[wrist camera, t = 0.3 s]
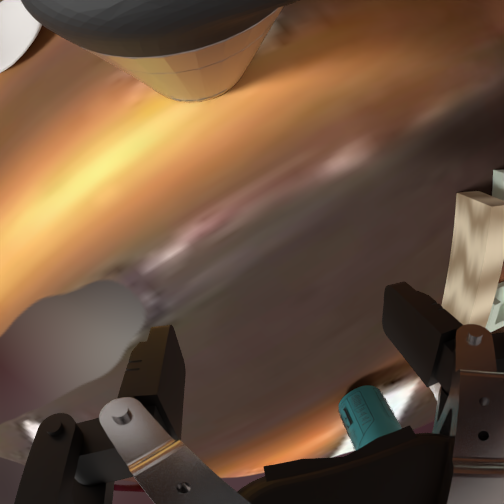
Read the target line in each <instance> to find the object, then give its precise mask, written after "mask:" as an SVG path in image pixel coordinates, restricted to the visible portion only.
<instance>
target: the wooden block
mask: <svg viewBox="0 0 504 504" xmlns="http://www.w3.org/2000/svg"><path fill="white" fill-rule="evenodd" d="M503 260H504V201H503V200H500V199H498V198H495V197H493V196H490V195H488V194H485V193H482V192H480V191H472V192H459V193H457V197H456V211H455V222H454V232H453V241H452V249H451V256H450V263H449V269H448V275H447V281H446V286H445V291H444V296H443V301H442V307H443V309H445V310H447V311H448V312H449V313H450V314H451V315H452V316H454V317H455V318H456V319H457V320H458V321H459V322H460V323H462V324H463V325H466V324H476V325H480V326H483V327H485V328H486V325H487V322H488V318H489V315H490V312H491V308H492V305H493V301H494V298H495V294H496V290H497V286H498V282H499V278H500V274H501V269H502V265H503Z"/></svg>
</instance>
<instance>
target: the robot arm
mask: <svg viewBox="0 0 504 504" xmlns="http://www.w3.org/2000/svg"><path fill="white" fill-rule="evenodd" d="M296 1H299V0H21V2H22V4H23V5H24V7H25V8H26V10H27V11H28V12H29V13H30V14H31V15H32V17H33V18H34V19H35V20H37V21H38V22H39V23H40V24H42V25H43V26H44V27H46V28H47V29H49V30H50V31H52V32H54V33H56V34H57V35H59V36H61V37H63V38H65V39H66V40H68V41H70V42H72V43H74V44H76V45H78V46H80V47H82V48H83V49H85V50H87V51H89V52H91V53H92V54H94V55H96V56H98V57H99V58H101V59H103V60H105V61H107V62H108V63H111V64H112V65H114V66H116V67H117V68H119V69H121V70H122V71H124V72H126V73H127V74H129V75H131V76H132V77H134V78H136V79H137V80H139V81H141V82H142V83H144V84H145V85H147V86H149V87H150V88H152V89H153V90H155V91H157V92H158V93H160V94H162V95H163V96H165V97H167V98H170V99H173V100H176V101H180V102H189V103H190V102H202V101H206V100H210V99H213V98H215V97H217V96H219V95H222V94H224V93H225V92H226V91H228V90H229V89H230V88H232V87H233V86H234V85H235V84H236V83H237V82H238V81H239V79H240V78H241V77H242V75H243V73H244V72H245V70H246V68H247V67H248V65H249V64H250V62H251V60H252V58H253V57H254V55H255V53H256V51H257V50H258V48H259V46H260V45H261V43H262V41H263V40H264V38H265V36H266V35H267V33H268V31H269V30H270V28H271V26H272V25H273V23H274V22H275V20H276V18H277V16H278V14H279V13H280V11H281V10H282V8H283V7H284V6H285V5H288V4H291V3H294V2H296ZM382 324H383V329H384V332H385V334H386V335H387V337H388V338H389V339H390V340H391V342H392V343H393V344H394V345H395V347H396V348H397V349H398V350H399V352H400V353H401V354H402V355H403V357H404V358H405V359H406V361H407V362H408V363H409V364H410V366H411V367H412V368H413V369H414V371H415V372H416V373H417V375H418V376H419V377H420V379H421V380H422V381H423V382H424V384H425V385H426V386H427V387H429V386H432V385H434V384H436V383H439V384H440V385H441V386H440V389H439V394H438V401H437V408H436V415H435V421H434V428H433V432H432V433H419V434H415V433H414V431H413V430H412V428H411V427H410V426H407V427H405V428H402V429H399V430H397V431H394V432H392V433H389V434H386V435H383V436H381V437H378V438H376V439H374V440H373V441H371V442H370V443H368V444H366V445H365V446H363V447H361V448H359V449H358V450H356V451H354V452H352V453H351V454H349V455H347V456H344V457H335V458H316V459H300V460H295V461H290V462H285V463H280V464H275V465H269V466H264V471H265V476H264V477H262V478H259V479H257V480H255V481H253V482H251V483H249V484H248V485H246V486H244V487H243V488H241V489H240V490H239V491H238V492H236V491H235V490H234V489H233V488H231V487H230V486H229V485H228V484H227V483H225V482H224V481H223V480H222V479H221V478H220V477H219V476H217V475H216V474H215V473H214V472H213V471H212V470H211V469H210V468H209V467H207V466H206V465H205V464H204V463H203V462H202V461H201V460H200V459H199V458H198V457H197V456H196V455H195V454H194V453H193V452H192V451H191V450H190V449H189V448H188V447H186V446H185V445H184V444H183V443H182V442H181V431H182V414H183V400H184V386H185V364H184V359H183V356H182V353H181V350H180V347H179V344H178V340H177V337H176V334H175V331H174V328H173V326H172V325H166V326H158V327H152V328H151V330H150V333H149V337H148V340H147V342H140V343H139V344H138V345H137V346H136V347H135V348H134V350H133V351H132V353H131V356H130V359H129V363H128V365H127V368H126V370H127V371H125V375H124V378H123V381H122V384H121V388H120V391H119V395H118V398H117V399H115V400H113V401H111V402H109V403H108V404H107V405H105V406H104V408H103V409H102V410H101V412H100V416H99V418H96V419H93V420H89V421H85V422H81V423H76V422H75V421H74V419H73V418H72V417H71V416H70V415H68V414H64V413H58V414H54V415H51V416H49V417H48V418H46V419H45V420H44V421H43V422H42V423H41V424H40V426H39V428H38V431H37V433H36V436H35V439H34V442H33V444H32V447H31V450H30V453H29V456H28V459H27V462H26V465H25V468H24V471H23V475H22V478H21V481H20V485H19V488H18V492H17V495H16V499H15V503H14V504H112V500H113V490H114V481H117V480H121V479H125V478H129V477H133V476H134V477H135V479H136V480H137V481H138V483H139V484H140V485H141V487H142V488H143V489H144V491H145V492H146V493H147V494H148V496H149V497H150V498H151V500H152V501H153V502H154V503H155V504H504V332H503V333H496V334H491V333H490V331H489V330H487V329H486V328H485V327H483V326H480V325H476V324H466V325H463V324H462V323H460V322H459V321H458V320H457V319H456V318H455V317H454V316H452V315H451V314H450V313H449V312H448V311H447V310H445V309H443V307H442V306H441V305H440V304H437V302H436V301H435V300H434V299H432V298H431V297H430V296H429V295H426V294H424V293H422V292H419V291H416V290H415V289H413V288H412V287H411V286H410V285H409V284H407V283H406V282H400V283H396V284H392V285H388V286H386V288H385V293H384V306H383V318H382Z"/></svg>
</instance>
